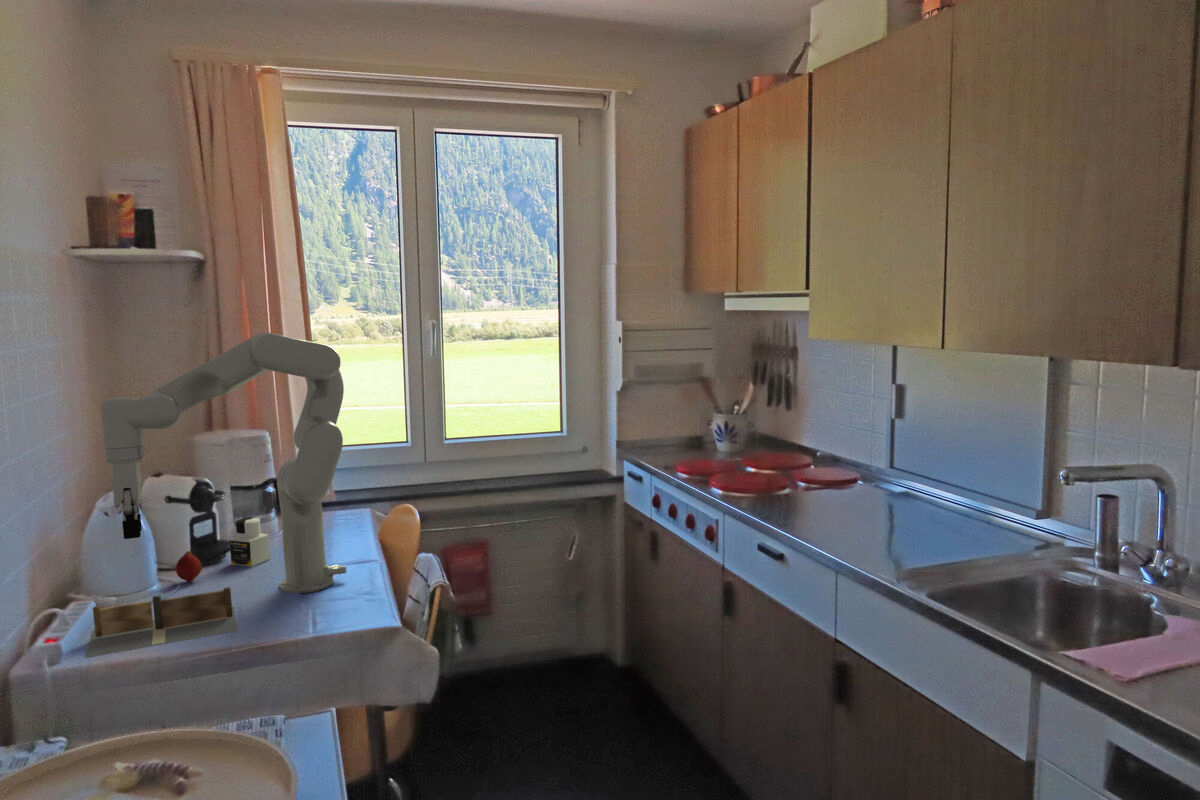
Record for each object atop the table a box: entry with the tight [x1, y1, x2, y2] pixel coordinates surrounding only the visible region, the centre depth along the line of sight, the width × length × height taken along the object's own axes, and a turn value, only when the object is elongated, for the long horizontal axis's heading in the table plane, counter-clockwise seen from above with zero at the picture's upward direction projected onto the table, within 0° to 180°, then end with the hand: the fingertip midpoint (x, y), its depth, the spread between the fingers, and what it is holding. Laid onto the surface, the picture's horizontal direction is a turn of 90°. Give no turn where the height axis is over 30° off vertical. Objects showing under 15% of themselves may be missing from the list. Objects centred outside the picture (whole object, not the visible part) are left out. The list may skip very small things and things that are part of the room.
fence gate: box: [92, 600, 154, 637], centre depth 179 cm, size 11×1×6 cm, turn 116°
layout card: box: [84, 606, 238, 659], centre depth 181 cm, size 28×16×1 cm, turn 116°
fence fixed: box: [152, 586, 233, 629], centre depth 185 cm, size 15×2×7 cm, turn 116°
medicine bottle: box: [229, 516, 271, 568], centre depth 228 cm, size 7×7×12 cm
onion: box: [175, 550, 203, 583], centre depth 213 cm, size 6×6×8 cm
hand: (133, 534), depth 187 cm, fingers open, 4 cm apart
